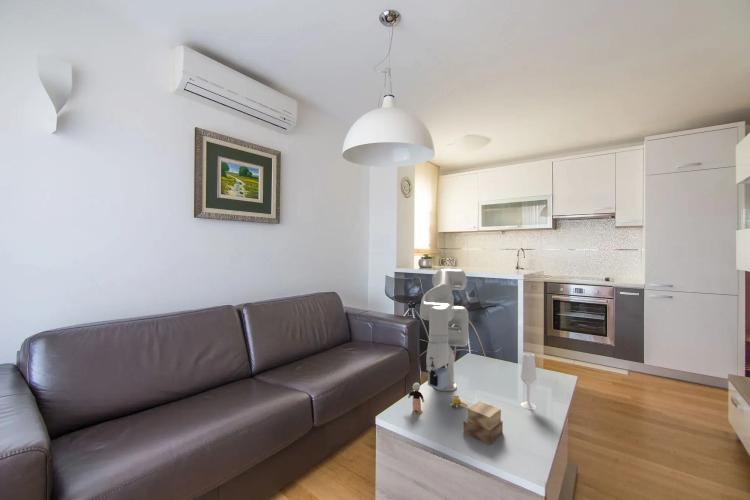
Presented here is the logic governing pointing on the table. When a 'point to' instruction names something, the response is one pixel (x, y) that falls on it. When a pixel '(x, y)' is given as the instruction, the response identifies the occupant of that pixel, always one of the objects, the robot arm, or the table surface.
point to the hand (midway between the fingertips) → (438, 382)
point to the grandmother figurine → (416, 398)
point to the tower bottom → (482, 432)
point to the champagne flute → (528, 376)
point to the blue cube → (441, 378)
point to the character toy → (457, 401)
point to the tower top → (484, 415)
